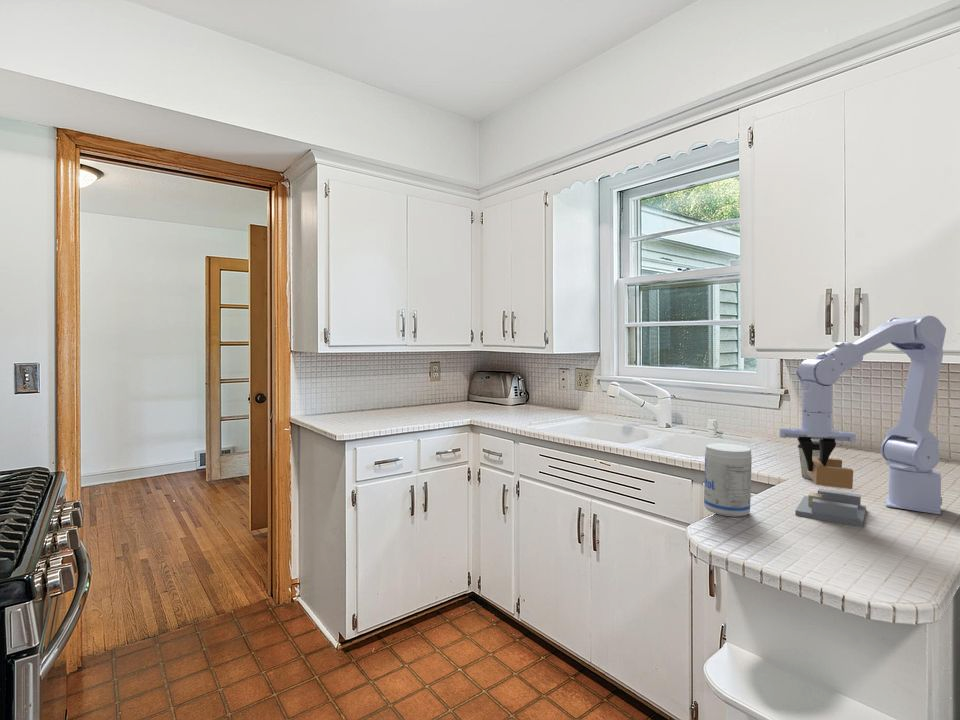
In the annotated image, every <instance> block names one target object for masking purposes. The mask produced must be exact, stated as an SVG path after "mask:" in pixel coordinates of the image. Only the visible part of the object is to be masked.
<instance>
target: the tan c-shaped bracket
mask: <svg viewBox="0 0 960 720" xmlns="http://www.w3.org/2000/svg"><path fill="white" fill-rule="evenodd" d="M819 459H820V457H815V456H812V462H813V470H812V471H808V469H807V473H808V475H809V476H810V477H811V479H810V480H812V481H813V483H814V484H815V485H816V486H825V487H833V488H842V489H850V490H852V489H853V487H854V485H853V483H854V469H852V468H850V467H849V468H847V467H843V459H841V458H834V457H833V458H832V457H829V458H828V460H827V463H826V466H824V465H823V464H822V463H821V462H820V461H819Z"/></svg>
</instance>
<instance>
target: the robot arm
mask: <svg viewBox="0 0 960 720" xmlns="http://www.w3.org/2000/svg"><path fill="white" fill-rule="evenodd" d="M946 333H947V328H946V326H945V325H944V324H943V323H942V321H941V320H940V319H939V318H938V317H936V316H934V315H925V316H913V317H912V316H911V317H892V318H890V319H888V320H887V321H883V322H881V323H880V324H879V326H877V327H876V328H875V329H873V330H872V331H869V332H868V333H866V335H865V334H864V336H862V337H861V338H859V339H857V340H856V341H854V342H853V343H852V342H848V341H845V342H844V341H840V342H839V341H838V342H836V343H834V346H835V347H833V348H831V349H829V350H827V351H825V352H820V353H818V354H817V357H816V358H807V359H804V360H803V361H802V362H801V363H800V365H799V366H798V369H797V370H795V374H796V377H797V379H798V380H799V382H800V389H801V390H802V391H801V393H802V394H801V395H802V396H801V410H802V411H801V428H785V427H784V428H783V427H780V428H779V433H778V435H779V438H782V439H786V438H787V439H788V438H790V439H791V438H792V439H797V442H798V444H800V445H801V448H802V450H803V452H804V455H805V458H806V462H807V469H808V471H812V470H813V462H812V453H813V443H812V441H813V440H819V441H818V442H819V447H820V459H819V461H820V462H821V463H822V464H823V465H824V466H826V463H827V460H828V458H830V456H831V454H832V453H833V451H834V449H835V448H836V445H837V442H838V441H839V442H849V443H856V442H857V434H856V432H853V431H839V430H832V428H833V427H832V426H833V423H832V422H833V420H832V419H833V413H832V412H833V384H836V383H837V381H838V380H839V379H840V375H842V374H844V373H845V372H847V371H848V370H851V369H853V368H854V367H857V366H858V365H860V364H861V363H862V362H863V361H864V360H863V359H864V356H866V355H868V354H870V353H872V352H873V351H876V350H878V349H879V348H882V347H884V346H886V345H888V344H890V345H891V346H894V348H896V349H898V350H899V351H901V352H902V353H904V354H906V356H907V357H908V358H909V359H910V362H909V368H908V372H907V373H908V374H907V378H906V382H905V388H904V394H903V400H902V403H901V410H900V413H899V419H898V424H897V425H895V426H893V427H891V428H890V429H888V430H887V431H886V436H885V438H884V439H883V441H882V443H881V446H880V455H881V457H882V459H884V461H886V465H887V466H888V496H886V499H885V500H886V501H885V507H888V508H895V509H903V510H909V511H915V512H923V513H928V514H935V515H941V514H942V513H941V506H942V505H943V497H942V495H941V494H942V475H941V472H940V471H934V469H935V468H936V467H937V466H938V464H939V462H940V459H941V458H940V451H939V443H940V440H939V438H938V437H937V436H936V435H934V434H933V433H932V432H931V431H930V430H929V428H930V424H931V418H932V414H933V409H934V408H933V407H934V403H935V398H936V393H937V387H938V385H939V380H940V379H939V378H940V374H941V368H942V362H943V357H944V351H943V350H944V349H943V347H944V343H945V338H946ZM911 439H914V440H911ZM836 441H837V442H836Z"/></svg>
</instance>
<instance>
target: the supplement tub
mask: <svg viewBox="0 0 960 720" xmlns="http://www.w3.org/2000/svg"><path fill="white" fill-rule="evenodd" d="M752 456H753V455H752V449H751V448H750V447H748V446H745V445H740V444H736V443H735V444H734V443H723V442H720V443H719V442H718V443H716V442H715V443H709V444H706V445H705V453H704V478H703V481H704V482H703V483H704V484H703V485H704V486H703V487H704V488H703V489H704V491H703V493H704V494H703V505H704V508H705V509H706V510H707V511H708V512H710V513H713V514H716V515H719V516H724V517H734V518H735V517H736V518H737V517H745V516H747V515H749V514H750V512H751V494H752V493H751V492H752V491H751V490H752V464H753V463H752V460H753V457H752Z"/></svg>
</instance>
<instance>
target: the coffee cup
mask: <svg viewBox="0 0 960 720" xmlns="http://www.w3.org/2000/svg"><path fill="white" fill-rule="evenodd" d="M812 443H813V453H812V456H815V457H820V447H819V441H813V440H812ZM797 448H798V455H799V463H800V473H801V477H802V478H804V479H808V480H812V479H811V477H810V476H809V475H808V473H807V462H806V458H805V455H804V452H803V450H802V448H801V445H800V443H798V444H797Z"/></svg>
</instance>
